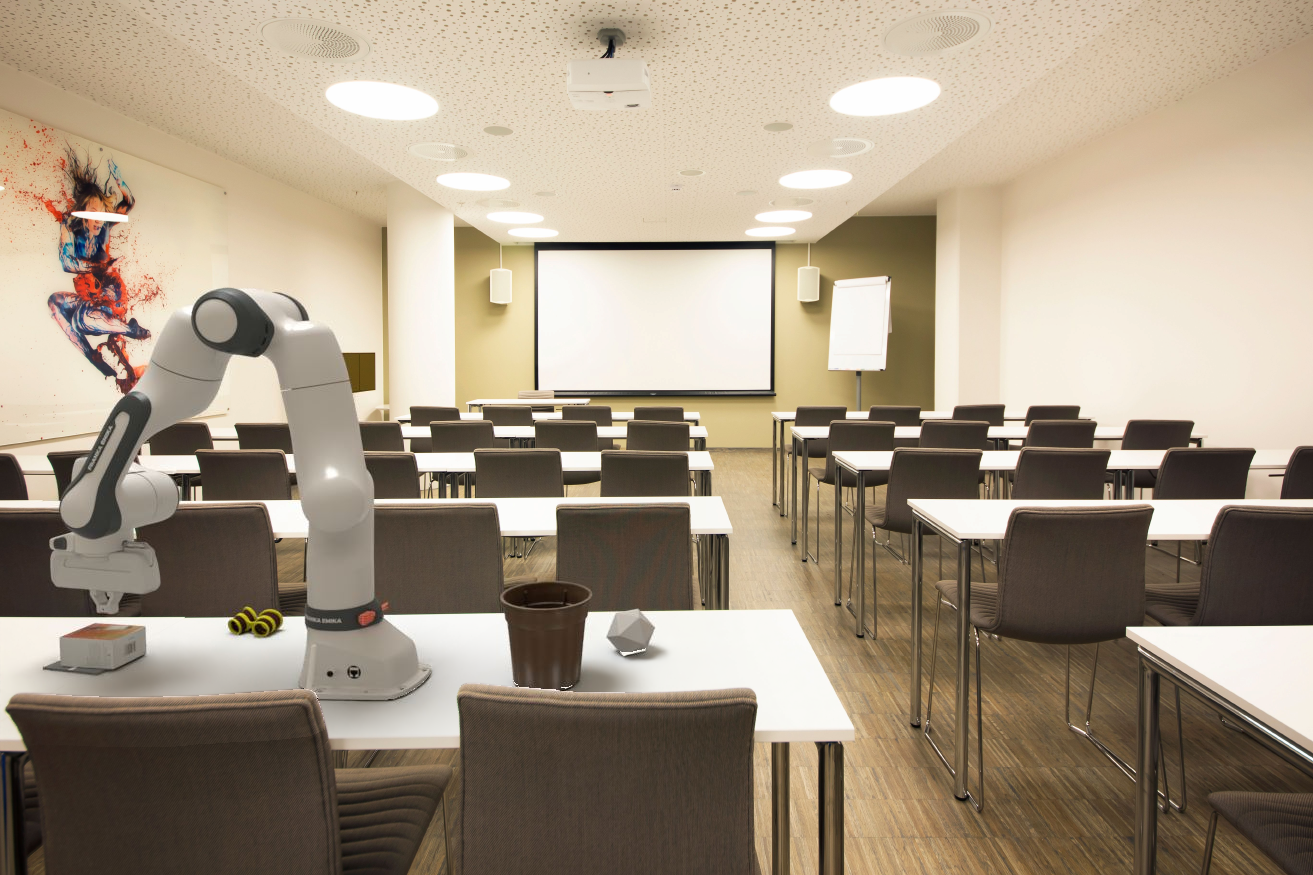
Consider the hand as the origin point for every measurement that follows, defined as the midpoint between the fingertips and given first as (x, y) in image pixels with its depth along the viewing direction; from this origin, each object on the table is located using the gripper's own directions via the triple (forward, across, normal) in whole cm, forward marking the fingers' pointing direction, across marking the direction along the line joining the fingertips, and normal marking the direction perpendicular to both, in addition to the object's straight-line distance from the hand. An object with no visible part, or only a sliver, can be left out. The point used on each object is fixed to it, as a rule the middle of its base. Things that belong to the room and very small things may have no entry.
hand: (107, 612), depth 135 cm
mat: (+10, +3, 0) cm, 10 cm away
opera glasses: (+10, -14, -20) cm, 27 cm away
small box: (+6, -4, -1) cm, 8 cm away
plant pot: (+10, -81, -11) cm, 82 cm away
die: (+10, -93, -28) cm, 98 cm away
